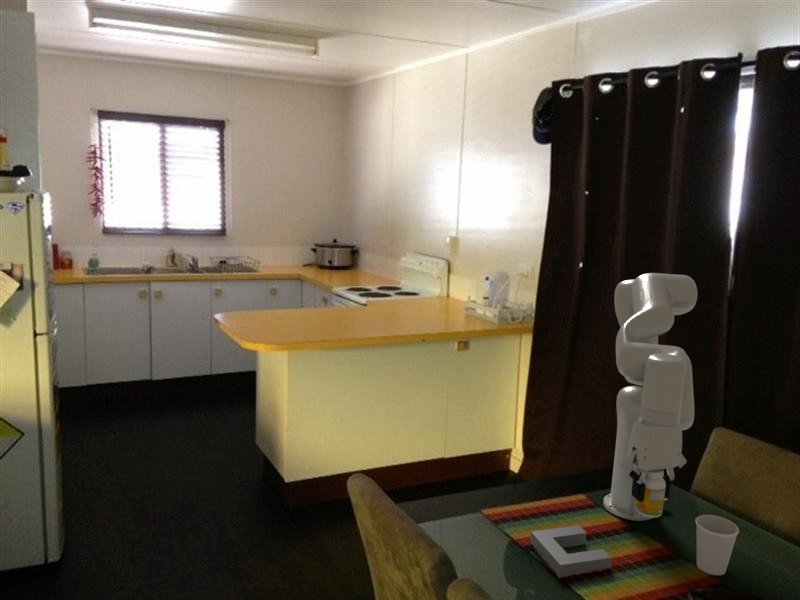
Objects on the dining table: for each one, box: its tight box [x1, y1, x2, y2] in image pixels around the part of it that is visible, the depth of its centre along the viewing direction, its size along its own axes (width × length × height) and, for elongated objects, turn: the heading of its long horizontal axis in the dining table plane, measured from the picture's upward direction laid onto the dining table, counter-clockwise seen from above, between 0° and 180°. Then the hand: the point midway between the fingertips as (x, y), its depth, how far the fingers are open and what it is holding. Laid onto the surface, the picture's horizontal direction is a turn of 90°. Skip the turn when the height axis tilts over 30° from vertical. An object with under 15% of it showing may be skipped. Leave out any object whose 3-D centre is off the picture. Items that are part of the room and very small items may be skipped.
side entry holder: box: [529, 525, 613, 579], centre depth 143 cm, size 12×13×3 cm
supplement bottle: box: [635, 469, 666, 519], centre depth 138 cm, size 5×5×10 cm
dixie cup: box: [695, 514, 740, 576], centre depth 141 cm, size 8×8×10 cm
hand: (650, 496), depth 138 cm, fingers closed on supplement bottle, 5 cm apart
